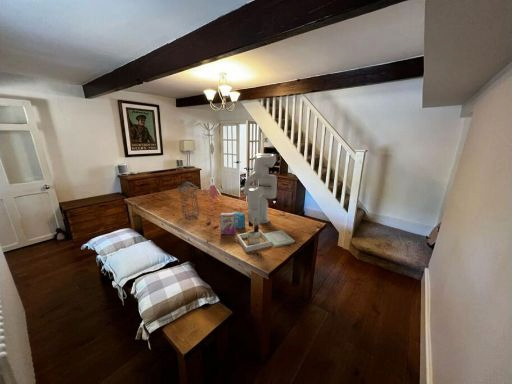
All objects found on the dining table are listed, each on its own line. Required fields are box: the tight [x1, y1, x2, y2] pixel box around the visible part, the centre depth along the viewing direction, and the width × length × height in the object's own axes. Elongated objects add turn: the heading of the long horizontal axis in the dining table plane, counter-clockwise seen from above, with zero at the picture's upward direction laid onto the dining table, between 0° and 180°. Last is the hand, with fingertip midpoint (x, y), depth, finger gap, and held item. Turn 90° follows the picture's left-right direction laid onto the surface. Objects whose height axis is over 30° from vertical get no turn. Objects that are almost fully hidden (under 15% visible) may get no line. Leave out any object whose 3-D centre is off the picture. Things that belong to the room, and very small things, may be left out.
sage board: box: [263, 229, 295, 248], centre depth 147 cm, size 18×16×2 cm
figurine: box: [203, 184, 222, 228], centre depth 168 cm, size 15×26×35 cm, turn 45°
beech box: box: [246, 230, 261, 246], centre depth 141 cm, size 5×8×8 cm, turn 114°
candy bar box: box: [219, 212, 236, 235], centre depth 153 cm, size 11×5×16 cm, turn 92°
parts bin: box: [236, 229, 272, 253], centre depth 142 cm, size 19×19×4 cm
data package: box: [232, 211, 246, 229], centre depth 165 cm, size 12×4×12 cm, turn 57°
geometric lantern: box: [176, 181, 200, 221], centre depth 179 cm, size 16×16×35 cm
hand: (253, 229), depth 139 cm, fingers open, 9 cm apart
